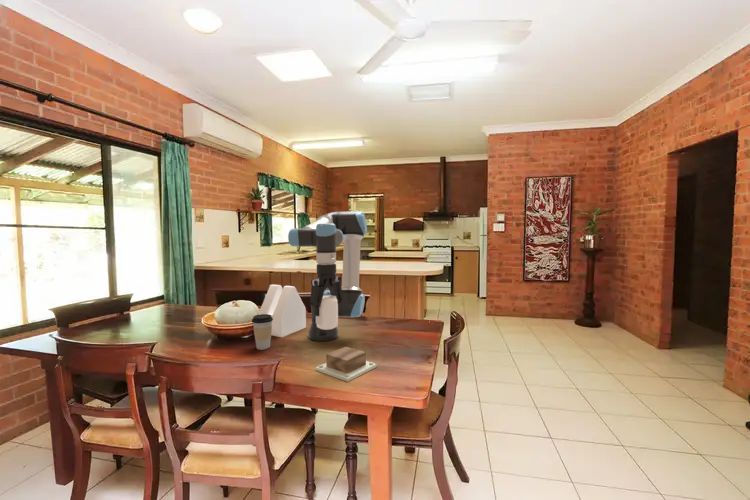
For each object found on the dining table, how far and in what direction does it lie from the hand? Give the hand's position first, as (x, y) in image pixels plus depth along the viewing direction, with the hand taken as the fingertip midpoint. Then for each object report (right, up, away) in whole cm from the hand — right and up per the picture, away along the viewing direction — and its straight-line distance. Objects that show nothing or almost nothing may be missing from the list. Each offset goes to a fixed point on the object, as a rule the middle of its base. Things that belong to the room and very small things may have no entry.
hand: (327, 321), depth 136 cm
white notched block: (-31, -16, +52) cm, 63 cm away
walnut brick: (+7, -18, +2) cm, 19 cm away
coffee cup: (-33, -18, +26) cm, 46 cm away
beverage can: (0, -3, 0) cm, 2 cm away
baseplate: (+7, -19, +2) cm, 21 cm away
